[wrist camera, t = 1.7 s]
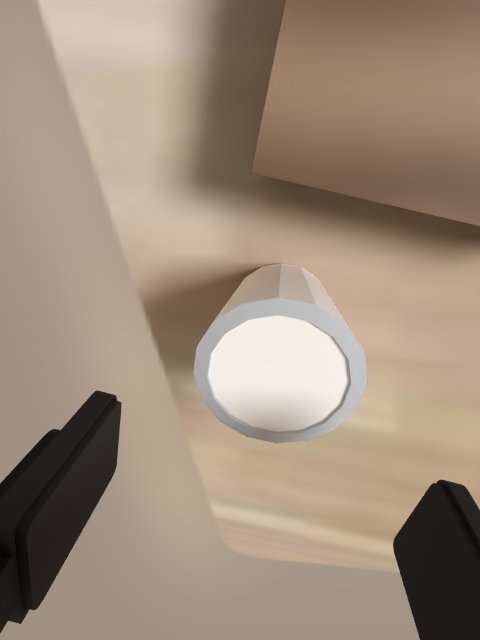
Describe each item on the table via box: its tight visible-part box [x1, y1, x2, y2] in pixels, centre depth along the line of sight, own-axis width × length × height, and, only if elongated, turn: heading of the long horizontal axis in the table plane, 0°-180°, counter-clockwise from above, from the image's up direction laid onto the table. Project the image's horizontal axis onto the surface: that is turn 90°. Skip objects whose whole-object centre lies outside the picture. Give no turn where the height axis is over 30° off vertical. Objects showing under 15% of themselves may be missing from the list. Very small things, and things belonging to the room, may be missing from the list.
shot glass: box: [193, 263, 368, 443], centre depth 16 cm, size 7×7×7 cm
